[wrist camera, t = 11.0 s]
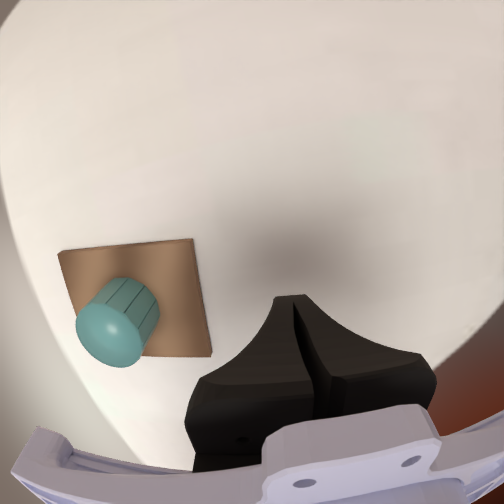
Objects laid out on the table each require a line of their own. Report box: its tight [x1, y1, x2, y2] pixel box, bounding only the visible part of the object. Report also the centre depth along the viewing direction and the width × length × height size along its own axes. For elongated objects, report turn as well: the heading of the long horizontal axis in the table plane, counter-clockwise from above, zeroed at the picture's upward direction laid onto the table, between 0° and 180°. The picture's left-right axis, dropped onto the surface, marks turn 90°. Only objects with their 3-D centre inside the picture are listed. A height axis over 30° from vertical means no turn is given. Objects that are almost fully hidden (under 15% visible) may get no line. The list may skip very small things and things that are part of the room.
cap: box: [76, 277, 160, 368], centre depth 20 cm, size 5×5×4 cm
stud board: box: [57, 239, 212, 357], centre depth 21 cm, size 12×10×4 cm
